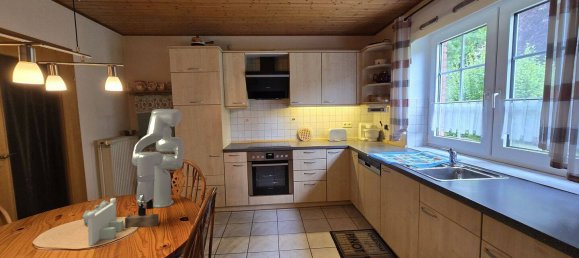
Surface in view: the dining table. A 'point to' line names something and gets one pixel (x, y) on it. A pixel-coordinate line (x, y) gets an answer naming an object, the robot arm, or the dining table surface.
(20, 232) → the dining table surface
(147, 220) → the rail
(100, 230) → the pale grey legged piece
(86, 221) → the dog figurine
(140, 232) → the dining table surface
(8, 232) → the dining table surface
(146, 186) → the robot arm
